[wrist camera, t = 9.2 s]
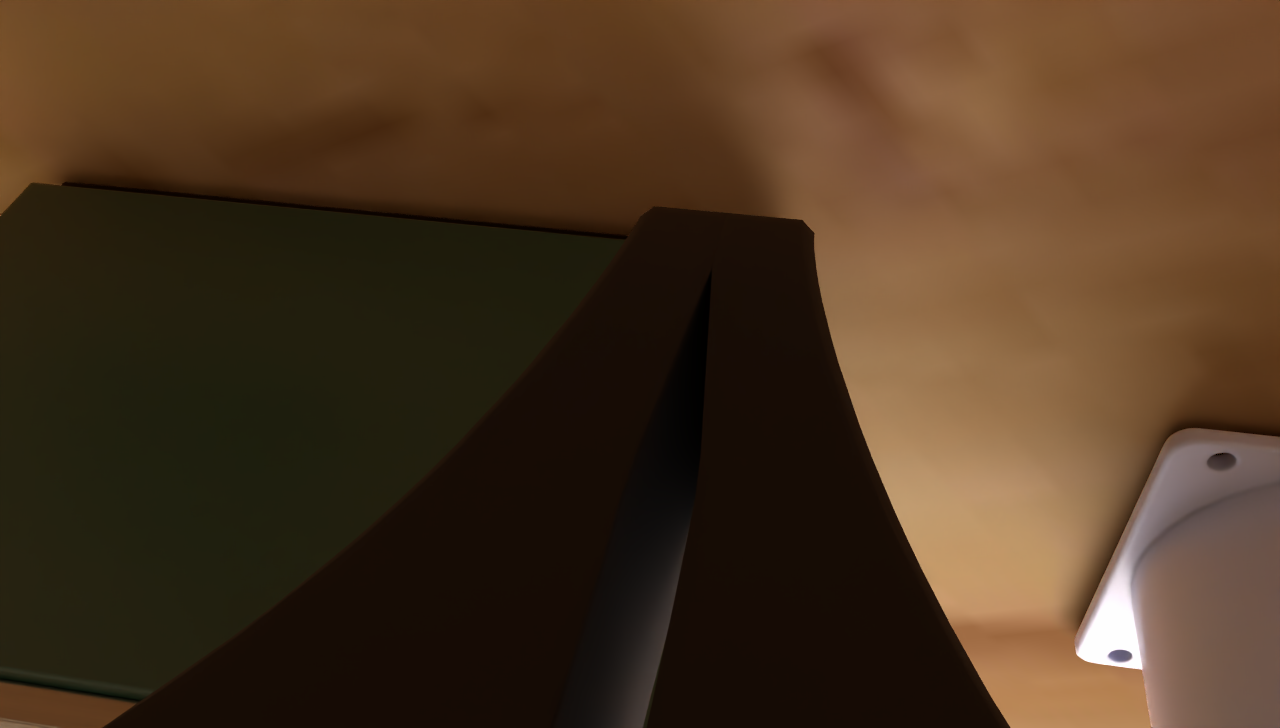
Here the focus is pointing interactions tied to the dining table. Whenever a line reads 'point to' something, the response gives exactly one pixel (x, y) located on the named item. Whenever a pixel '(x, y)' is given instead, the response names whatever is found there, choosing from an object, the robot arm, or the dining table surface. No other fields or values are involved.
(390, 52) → the dining table surface
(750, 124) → the dining table surface
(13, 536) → the toaster
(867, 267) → the dining table surface
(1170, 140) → the dining table surface
